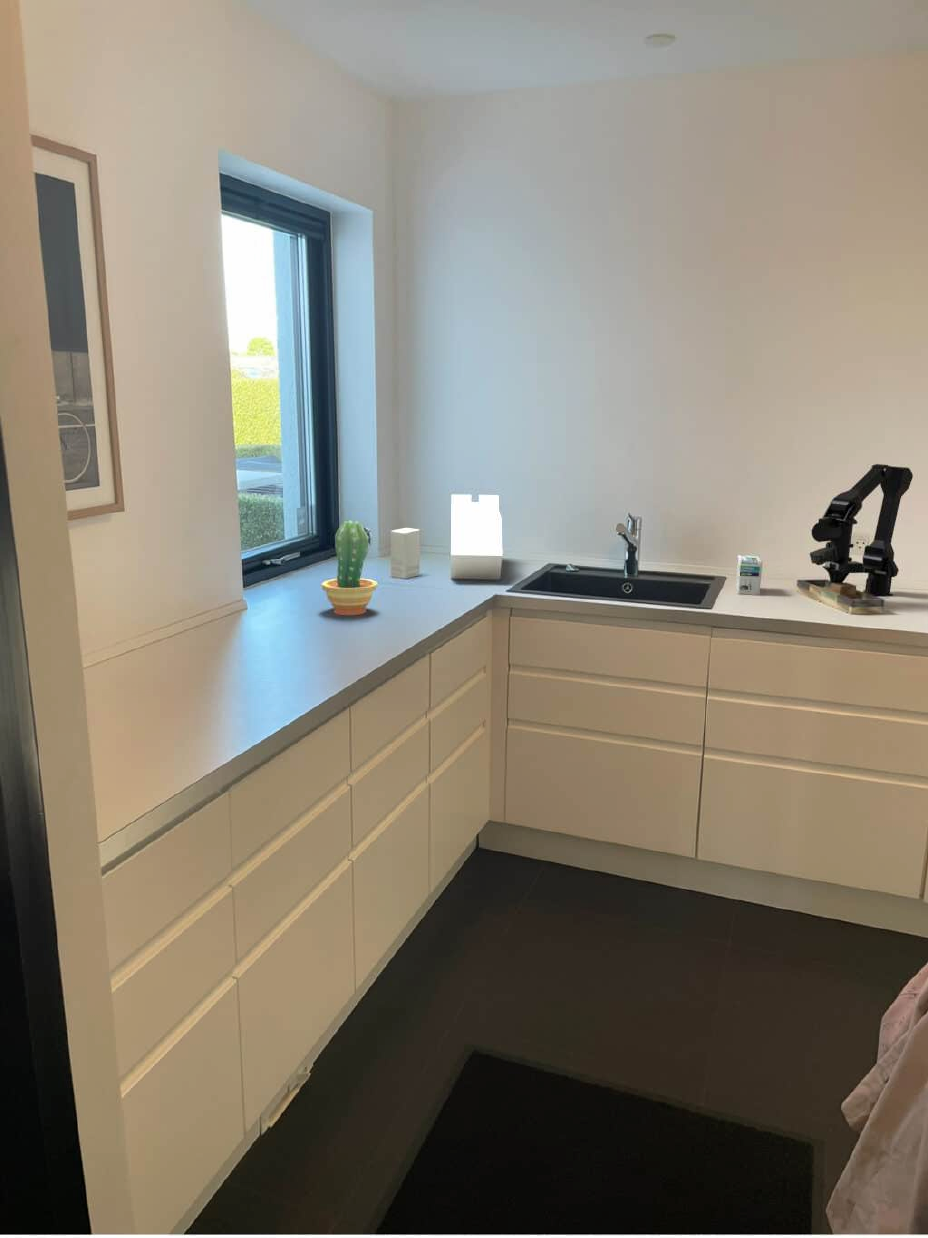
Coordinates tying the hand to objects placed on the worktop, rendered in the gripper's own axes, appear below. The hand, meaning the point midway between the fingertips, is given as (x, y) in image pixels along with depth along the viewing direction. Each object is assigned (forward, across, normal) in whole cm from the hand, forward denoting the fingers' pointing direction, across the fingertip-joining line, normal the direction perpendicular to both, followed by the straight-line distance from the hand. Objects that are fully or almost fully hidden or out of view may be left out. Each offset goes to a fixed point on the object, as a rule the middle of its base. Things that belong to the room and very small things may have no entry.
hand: (834, 591), depth 277 cm
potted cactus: (+4, -1, -145) cm, 145 cm away
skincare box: (+4, -50, -124) cm, 134 cm away
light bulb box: (+4, -16, -20) cm, 26 cm away
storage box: (+4, -56, -100) cm, 114 cm away
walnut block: (+1, +4, 0) cm, 4 cm away
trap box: (+3, +2, 0) cm, 4 cm away
